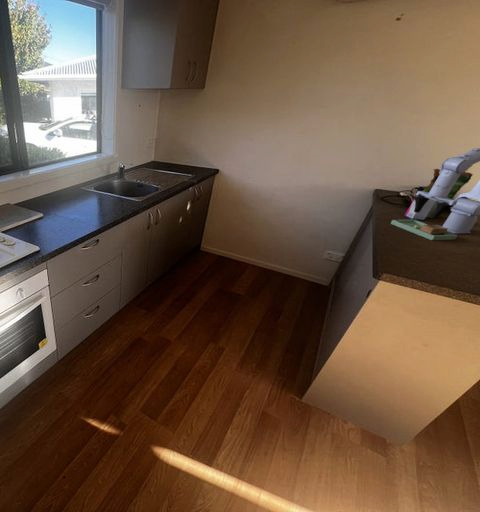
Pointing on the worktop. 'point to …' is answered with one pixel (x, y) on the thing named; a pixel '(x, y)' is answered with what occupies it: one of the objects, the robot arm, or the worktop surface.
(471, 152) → the robot arm
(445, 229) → the eraser
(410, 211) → the supplement box
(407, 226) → the tray
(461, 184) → the pouch
